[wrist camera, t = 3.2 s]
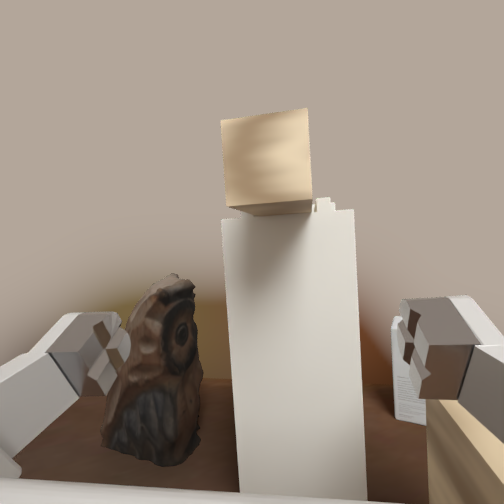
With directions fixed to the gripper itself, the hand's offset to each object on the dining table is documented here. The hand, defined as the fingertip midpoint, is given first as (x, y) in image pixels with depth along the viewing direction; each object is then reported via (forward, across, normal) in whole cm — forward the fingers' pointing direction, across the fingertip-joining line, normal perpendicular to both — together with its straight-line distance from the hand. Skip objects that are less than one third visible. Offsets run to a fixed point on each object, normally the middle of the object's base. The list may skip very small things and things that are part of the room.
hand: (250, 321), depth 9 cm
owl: (+14, +19, +32) cm, 39 cm away
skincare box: (+19, -14, +35) cm, 43 cm away
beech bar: (+16, 0, +4) cm, 17 cm away
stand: (+10, 0, +30) cm, 32 cm away
